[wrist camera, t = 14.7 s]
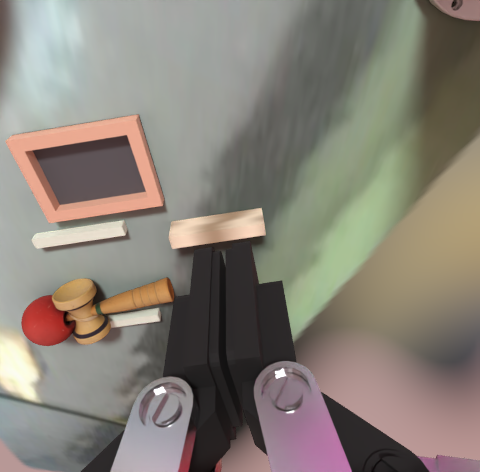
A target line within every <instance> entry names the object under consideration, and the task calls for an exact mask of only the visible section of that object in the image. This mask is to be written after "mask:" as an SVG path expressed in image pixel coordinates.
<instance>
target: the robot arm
mask: <svg viewBox="0 0 480 472" xmlns="http://www.w3.org/2000/svg"><path fill="white" fill-rule="evenodd" d="M429 1H430V2H431V3H432V4H433V5H434V6H435V7H436V8H438V9H439V10H440V11H441V12H443V13H445V14H447V15H450V16H452V17H454V18H459V19H463V20H472V21H480V0H429ZM453 1H454V4H453V5H452V6H451V4H452V2H453ZM242 409H243V412H244V415H245V418H246V421H247V424H248V425H249V428H250V431H251V434H252V436H253V440H254V443H255V445H256V446H257V447H258V448H260V449H261V450H262V451H263V452H264V453H265V454H266V455H267V456H268V459H269V463H270V468H271V472H480V460H472V459H465V458H457V457H450V456H442V455H437V456H436V458H428V457H420V456H416V455H415V454H414V453H412V452H411V451H410V450H408V449H407V448H405V447H404V446H402V445H401V444H399V443H398V442H396V441H395V440H393V439H392V438H390V437H389V436H387V435H386V434H384V433H383V432H381V431H380V430H378V429H377V428H375V427H374V426H372V425H371V424H369V423H368V422H366V421H365V420H363V419H362V418H360V417H358V416H357V415H355V414H354V413H353V412H351V411H350V410H348V409H347V408H345V407H343V406H342V405H340V404H339V403H337V402H336V401H334V400H333V399H331V398H330V397H328V396H327V395H325V394H324V393H322V392H321V391H320V389H319V386H318V384H317V381H316V379H315V378H314V376H313V374H312V373H311V372H310V371H309V370H308V369H307V368H306V367H305V366H303V365H301V364H298V363H297V362H296V357H295V351H294V345H293V340H292V334H291V328H290V323H289V317H288V311H287V306H286V300H285V295H284V289H283V283H282V281H276V282H269V283H263V284H259V281H258V276H257V271H256V266H255V262H254V257H253V252H252V247H251V243H250V241H247V242H241V243H234V244H232V249H228V250H226V267H225V263H224V260H223V256H222V253H221V251H215V250H214V248H213V247H210V248H204V249H197V250H195V251H194V258H193V268H192V278H191V288H190V295H184V296H178V297H176V298H175V300H174V304H173V311H172V318H171V325H170V331H169V338H168V345H167V352H166V359H165V366H164V372H163V378H160V379H158V380H155V381H153V382H152V383H150V384H149V385H148V386H146V387H145V388H144V389H143V390H142V392H141V393H140V394H139V395H138V397H137V399H136V401H135V403H134V405H133V408H132V411H131V414H130V417H129V420H128V422H127V425H126V428H125V430H124V431H123V432H122V433H121V434H120V435H118V436H117V437H116V438H115V439H114V440H113V441H112V442H111V443H110V444H109V445H108V446H107V447H106V448H105V449H104V450H103V451H102V452H101V453H100V454H99V455H98V456H97V457H96V458H95V459H94V460H92V461H91V462H90V463H89V464H88V465H87V466H86V467H85V468H84V469H83V470H82V471H81V472H221V468H222V457H223V456H224V455H225V453H226V452H227V451H228V450H229V449H230V440H234V439H236V427H239V426H242V423H243V419H242Z"/></svg>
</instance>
